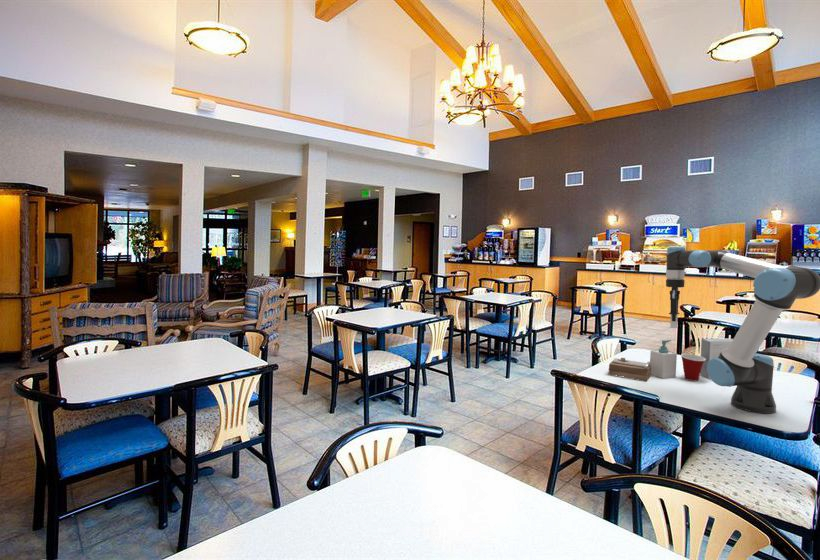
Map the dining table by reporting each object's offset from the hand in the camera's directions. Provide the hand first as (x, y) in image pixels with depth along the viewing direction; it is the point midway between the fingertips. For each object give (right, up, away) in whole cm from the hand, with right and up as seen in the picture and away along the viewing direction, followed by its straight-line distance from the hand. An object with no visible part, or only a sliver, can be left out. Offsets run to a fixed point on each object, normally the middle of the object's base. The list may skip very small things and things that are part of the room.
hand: (673, 327), depth 208 cm
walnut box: (-10, -28, +22) cm, 37 cm away
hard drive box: (+35, -28, +18) cm, 48 cm away
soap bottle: (+7, -28, +22) cm, 36 cm away
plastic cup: (+19, -28, +15) cm, 37 cm away
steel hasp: (-10, -21, +21) cm, 32 cm away
